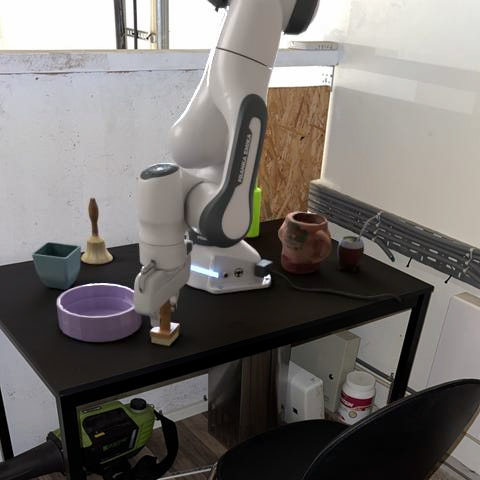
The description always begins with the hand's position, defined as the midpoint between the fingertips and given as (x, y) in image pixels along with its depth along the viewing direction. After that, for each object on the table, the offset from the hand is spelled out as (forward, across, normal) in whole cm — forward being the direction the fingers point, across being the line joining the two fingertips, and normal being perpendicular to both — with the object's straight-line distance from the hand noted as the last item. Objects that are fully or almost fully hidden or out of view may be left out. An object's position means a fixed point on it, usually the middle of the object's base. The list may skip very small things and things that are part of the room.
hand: (164, 317), depth 133 cm
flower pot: (+5, +16, +35) cm, 38 cm away
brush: (+5, 0, 0) cm, 5 cm away
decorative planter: (+5, +51, -18) cm, 54 cm away
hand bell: (+5, +35, +35) cm, 50 cm away
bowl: (+5, 0, +15) cm, 16 cm away
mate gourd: (+5, +57, -29) cm, 65 cm away
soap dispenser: (+5, +72, +5) cm, 73 cm away
